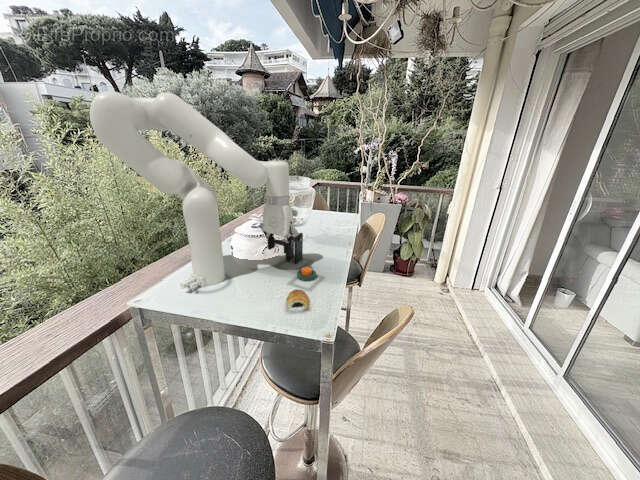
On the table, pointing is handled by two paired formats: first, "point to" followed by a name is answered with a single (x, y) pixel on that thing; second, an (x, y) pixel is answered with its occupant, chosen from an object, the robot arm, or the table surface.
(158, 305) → the table surface
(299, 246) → the bracket
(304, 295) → the pastry
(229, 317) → the table surface
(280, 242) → the lever
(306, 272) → the button
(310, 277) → the button box
